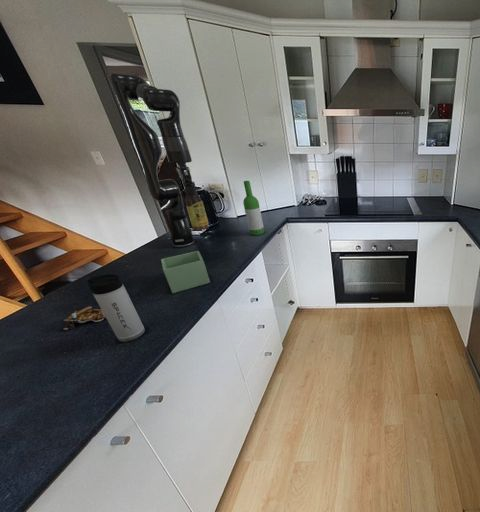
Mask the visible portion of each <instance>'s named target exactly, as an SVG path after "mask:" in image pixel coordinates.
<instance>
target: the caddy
mask: <svg viewBox="0 0 480 512" xmlns="http://www.w3.org/2000/svg"><path fill="white" fill-rule="evenodd" d="M160 261H161V266H162V271H163V273H164V276H165V278H166V281H167V284H168V286H169V288H170V292H171V294H175V293H179V292H182V291H186V290H189V289H192V288H193V289H194V288H196V287H199V286H203V285H207V284H211V280H210V277H209V274H208V270H207V267H206V265H205V261H204V259H203V256H202V255H201V252H200V251H199V250H195V251H191V252H187V253H182V254H177V255H173V256H168V257H164V258H161V259H160Z"/></svg>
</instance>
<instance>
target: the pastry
mask: <svg viewBox="0 0 480 512" xmlns="http://www.w3.org/2000/svg"><path fill="white" fill-rule="evenodd" d="M92 308H93V307H92V306H86V307H84V308H83V309H80V310H75V311H73V312H72V313H71V314H70V315H68V316H67V317H64V319H63V321H64V323H65V324H68V325H69V326H67V327H63V331H69V330H75V328H76V325H75V324H76V323H78V324H84V323H86V322H90V321H93V322H94V323H97V322H102V321H103V320H104V319H106V317H105V315H104V313H103V311H102V310H101V308H97V309H96V308H95V309H92Z"/></svg>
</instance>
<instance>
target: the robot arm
mask: <svg viewBox="0 0 480 512" xmlns="http://www.w3.org/2000/svg"><path fill="white" fill-rule="evenodd" d="M109 81H110V84H111V88H112V90H113V92H114V95H115V97H116V99H117V102H118V104H119V106H120V109H121V111H122V114H123V116H124V119H125V122H126V125H127V127H128V130H129V133H130V137H131V140H132V143H133V147H134V148H135V150H136V153H137V156H138V159H139V162H140V164H141V168H142V170H143V174H144V179H145V182H146V186H147V190H148V192H149V194H150V196H151V197H152V199H153V200H154V201H156V202H164V201H168V202H167V203H166V204H165V205H163V206H162V207H160V212H161V215H162V218H163V221H164V224H165V226H166V229H167V232H168V233H169V234H168V235H169V237H170V240H171V242H172V246H173V247H174V248H186V247H189V246H192V245H194V244H195V242H196V241H195V238H194V235H193V233H192V231H191V229H190V227H191V226H190V223H189V220H188V218H187V215H186V212H185V208H184V207H185V206H184V201H183V197H182V193H181V190H180V187H179V185H178V184H177V182H176V181H175V180H174V179H171V178H167V179H159V177H158V176H159V175H158V167H159V164H160V162H161V158H162V155H163V148H164V152H165V155H166V157H167V161H168V163H170V164H176V165H177V166H176V168H175V169H176V172H177V173H178V176H179V178H180V181H181V182H182V184H183V182H184V185H185V186H186V189H187V192H188V195H194V194H195V193H194V190H193V186H192V184H193V182H194V181H193V180H192V179H193V178H192V174H191V168H190V167H189V166H187V163H192V161H193V160H192V156H191V153H190V149H189V146H188V143H187V141H186V138H185V135H184V132H183V128H182V124H181V115H180V114H181V103H180V99H179V96H178V95H177V93H175V92H174V91H173V90H171V89H165V88H163V89H162V88H158V87H156V86H154V85H150V83H149V82H147V80H145V79H144V78H143V77H141V76H139V75H135V74H128V73H127V74H126V73H119V72H118V73H117V72H111V73H110V74H109ZM130 101H134V102H135V101H136V102H138V101H139V102H142V103H144V105H145V107H146V108H147V109H148V110H150V111H153V112H167V113H168V112H169V115H168V117H165V118H160V119H158V120H157V121H156V124H157V128H158V130H159V134H160V137H161V140H160V139H159V136H158V134H157V132H156V131H155V130H154V129H153V128H152V127H151V126H150V125H149V124H148V123H147V122H145V121H144V119H142V117H141V116H140V115H139V114H138V113H137V112H136V110H135V109H134V107H133V106H132V104H131V102H130ZM160 141H161V142H162V145H163V148H162V145H161V142H160Z"/></svg>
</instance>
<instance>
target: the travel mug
mask: <svg viewBox="0 0 480 512" xmlns="http://www.w3.org/2000/svg"><path fill="white" fill-rule="evenodd" d="M86 282H87V286H88V287H89V289H90V290H91V294H92V295H93V297H94V299H95V301H96V303H97V304H98V306H99V307H100V308H99V309H101V310H102V311H103V313H104V315H105V317H106V318H105V319H106V320H107V322H108V324H109V326H110V327H111V329H112V331H113V333H114V334H115V337H116V338H117V340H118V341H119V342H121V343H126V342H131V341H133V340H136V339H138V338H140V337H141V336H143V335H144V333H145V332H146V328H145V327H144V324H143V322H142V320H141V318H140V316H139V314H138V312H137V310H136V308H135V306H134V303H133V302H132V299H131V297H130V295H129V293H128V292H127V289H126V287H125V286H124V283H123V282H122V279H121V277H120V276H119V275H118V274H113V273H112V274H111V273H110V274H103V275H98V276H92V277H90V278H88V279H87V280H86Z"/></svg>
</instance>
